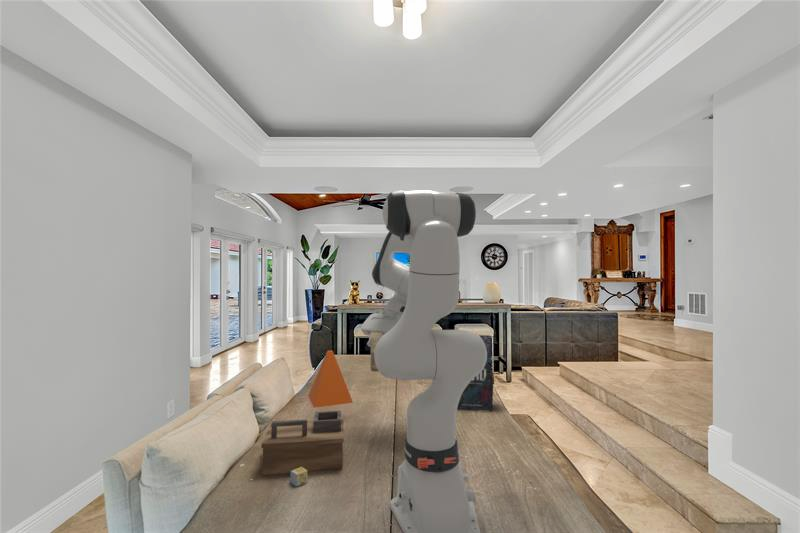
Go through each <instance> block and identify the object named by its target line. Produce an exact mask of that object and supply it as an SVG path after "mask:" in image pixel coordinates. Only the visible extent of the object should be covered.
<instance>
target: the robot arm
mask: <svg viewBox="0 0 800 533" xmlns="http://www.w3.org/2000/svg"><path fill="white" fill-rule="evenodd" d="M382 218H383V222H384V224H385V228H386V229H387V231H388V232H387V235H386V236H385V238H384V241H383V243H382V246H381V249H380V252H379V255H378V257H377V260H376V262H375V264H374V266H373V268H372V272H371V276H372V279H373V281H374V283H375V284H376V285H379V286H381V287H385V288H387V289H389V290H391V291H392V292H393V296H391V297H390V298H389V300H388V302H387V303H386V304H385V306H384V308H383V310H381V311H376V312H373V313H372V314H370V315H369V316H368V317H367V318H366V319H365V321H364V322H363V323H362V324H361V327H360V330H361V332H362V333H363V334H364V335H365V336H369V337H368V342H367V343H366V345H367V346H368V347H370V348H371V332H372V331H380V332H383V336H382V337H381V338H380V339H379V341H378V343H377V345H376V347H375V352H374V359H375V364H376V367H377V369H378V370H379V371H378V373H380V375H382V376H383V377H384V378H387V379H391V380H398V381H424V380H427V381H428V380H431V383H430V384H429V385H428V387H427V388H426V389H425V390H424V391H422V392H420V393H418V394H416V395H415V396H414V397H413V398H412V399H411V401H410V402H409V403H408V406H407V409H406V437H405V440H404V456H405V457H404V459H403V461H402V463H401V464H400V465H399V466H398V467H397V468H398V469H397V470H398V471H397V491H396V493H397V495H396V496H395V497H393V498H392V499H391V500H390V501H389V509H390V510H391V512H392V513H393V514H392V515H393V516H394V518H395V519H396V521H397V523H398V525H399V526H400V528H401V531H402V532H403V533H481V529H480V525H479V522H478V521H479V520H478V517H477V513H476V510H475V506H474V502H475V492H474V488H473V489H472V488H467V486H466V483H465V482H467V481H468V474H467V473H464V472H463V469H462V468H463V467H462V466H463V465H462V461H461V460H460V457H459V454H460V451H459V446H458V445H459V444H458V440H457V437H456V435H457V433H456V431H457V415H458V414H457V412H458V409H457V407H458V403H459V400H460V397H461V395H462V393H463V391H464V390H465V388H466V387H467V385H468V384H469V383H470V381H471V380H472V379H473V378H474V377H476V376H477V375H478V374H480V373H481V371H482V370H483V368H484V367H485V364H486V361H487V350H486V346H485V344H484V342H483V340H482V338H481V337H480V336H479V335H480V334H478V333H477V332H473V331H468V330H463V329H462V330H461V329H433V327H434V325H435V324H436V323H437V322H438V321H439V320H441V319H442V318H445V317H446V316H448V315H450V314H452V312H453V311H454V310H455V309H456V307H457V305H458V303H459V288H460V287H459V286H460V269H461V268H460V267H461V266H460V264H461V263H460V259H461V258H460V247H459V244H460V243H459V239H458V238H461V237H464V236H467V235H469V234H470V233H471V232H472V230H473V228H474V227H475V222H476V219H477V208H476V204H475V201H474V200H473V199H472V197H471V196H470V195H469V194H465V193H462V192H455V193H454V192H448V191H447V192H446V191H438V190H431V189H416V190H415V189H414V190H403V189H401V190H400V189H399V190H394V191H391V192H389V194H387V196H386V199H385V201H384V203H383V207H382ZM396 252H398V253H404V254H407V255H409V265H407V264H405V263H403V262H401V261H398V260H397V259H395V258H394V257H395V256H394V255H395V253H396Z"/></svg>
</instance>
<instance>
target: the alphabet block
mask: <svg viewBox="0 0 800 533" xmlns="http://www.w3.org/2000/svg"><path fill="white" fill-rule="evenodd" d="M289 474H290V484H292V485H293V486H295V487H296V488H297V487H300V486H302V485H304V484H306V483H308V471H307V470H306V469H304V468H303V467H300V468H297V469H295V470H292V471H291V473H289Z"/></svg>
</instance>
